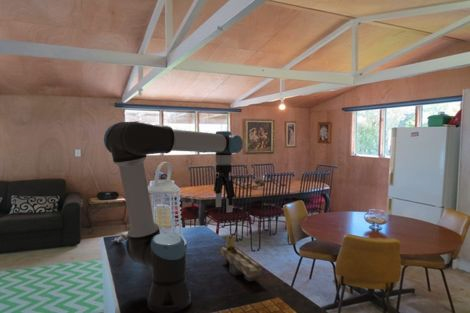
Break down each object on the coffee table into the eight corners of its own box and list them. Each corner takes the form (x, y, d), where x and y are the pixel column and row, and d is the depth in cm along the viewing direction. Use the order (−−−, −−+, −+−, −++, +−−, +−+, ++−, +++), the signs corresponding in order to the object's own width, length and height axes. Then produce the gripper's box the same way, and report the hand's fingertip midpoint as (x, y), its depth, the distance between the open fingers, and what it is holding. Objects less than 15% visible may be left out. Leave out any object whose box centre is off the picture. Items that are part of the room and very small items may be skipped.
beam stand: (262, 283, 129) (262, 265, 128) (246, 287, 126) (246, 269, 125) (233, 259, 154) (233, 244, 154) (219, 262, 151) (219, 247, 151)
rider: (236, 251, 147) (236, 236, 146) (228, 253, 145) (228, 237, 145) (232, 249, 150) (232, 233, 150) (224, 250, 149) (224, 235, 148)
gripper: (242, 165, 143) (242, 213, 144) (220, 162, 165) (221, 204, 166) (227, 166, 140) (227, 215, 141) (207, 162, 162) (207, 205, 163)
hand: (223, 209), depth 153 cm, fingers open, 12 cm apart
